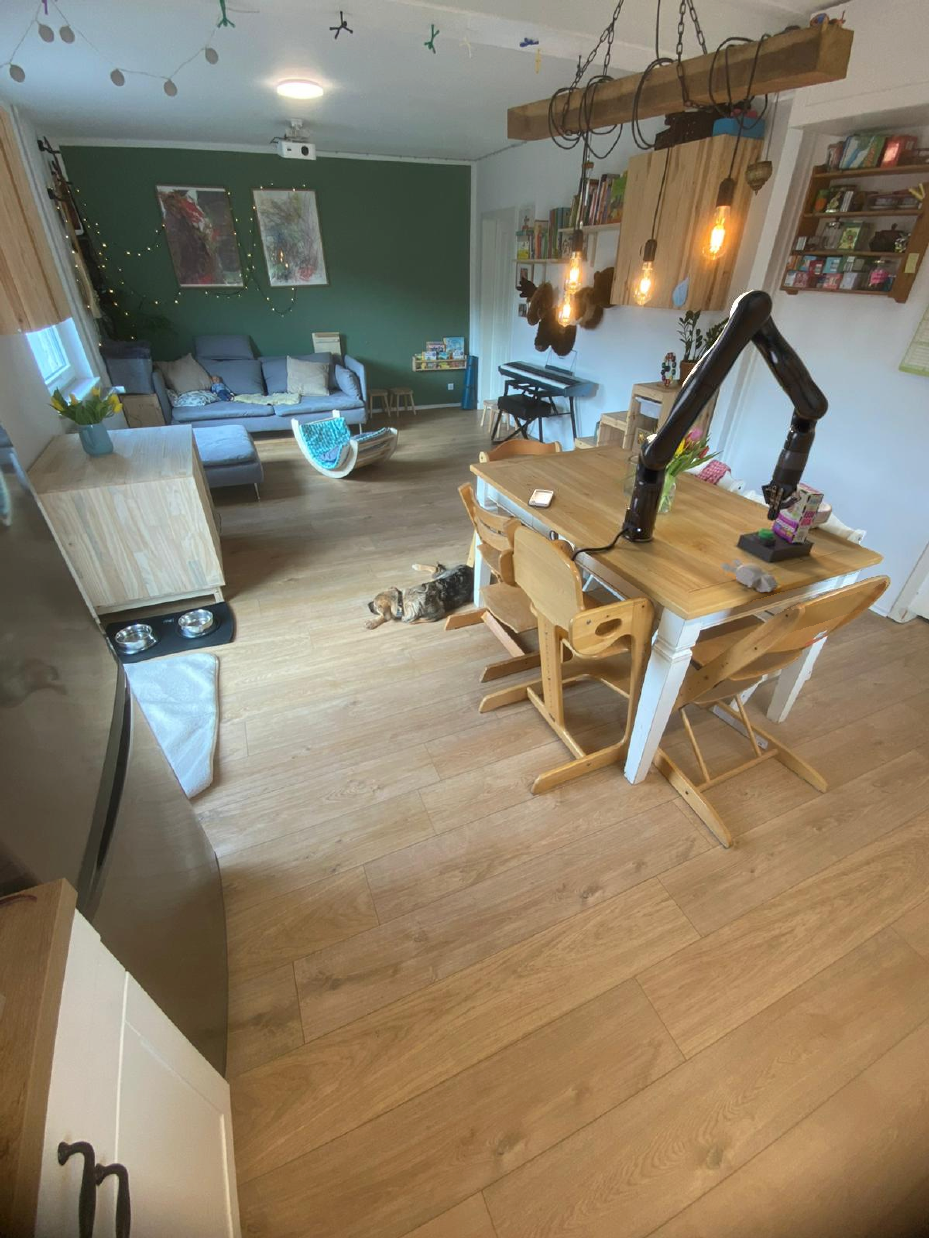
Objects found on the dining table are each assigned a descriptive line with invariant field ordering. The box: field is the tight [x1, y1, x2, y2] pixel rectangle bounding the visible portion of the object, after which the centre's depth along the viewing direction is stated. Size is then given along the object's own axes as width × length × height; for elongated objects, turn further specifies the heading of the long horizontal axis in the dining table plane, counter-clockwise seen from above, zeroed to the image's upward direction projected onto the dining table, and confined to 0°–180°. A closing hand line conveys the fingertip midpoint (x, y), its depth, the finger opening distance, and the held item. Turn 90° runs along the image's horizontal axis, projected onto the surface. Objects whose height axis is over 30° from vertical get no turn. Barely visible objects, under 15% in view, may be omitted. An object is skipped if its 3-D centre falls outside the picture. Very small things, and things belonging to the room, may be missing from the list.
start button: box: [758, 528, 774, 539], centre depth 169 cm, size 4×4×2 cm
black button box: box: [736, 528, 815, 563], centre depth 173 cm, size 18×13×6 cm
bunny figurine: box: [720, 558, 779, 593], centre depth 154 cm, size 10×5×15 cm
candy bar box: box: [771, 482, 825, 543], centre depth 170 cm, size 11×5×16 cm, turn 5°
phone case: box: [528, 488, 554, 508], centre depth 209 cm, size 7×1×15 cm
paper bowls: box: [810, 500, 834, 530], centre depth 192 cm, size 15×15×8 cm
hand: (771, 519), depth 166 cm, fingers closed
